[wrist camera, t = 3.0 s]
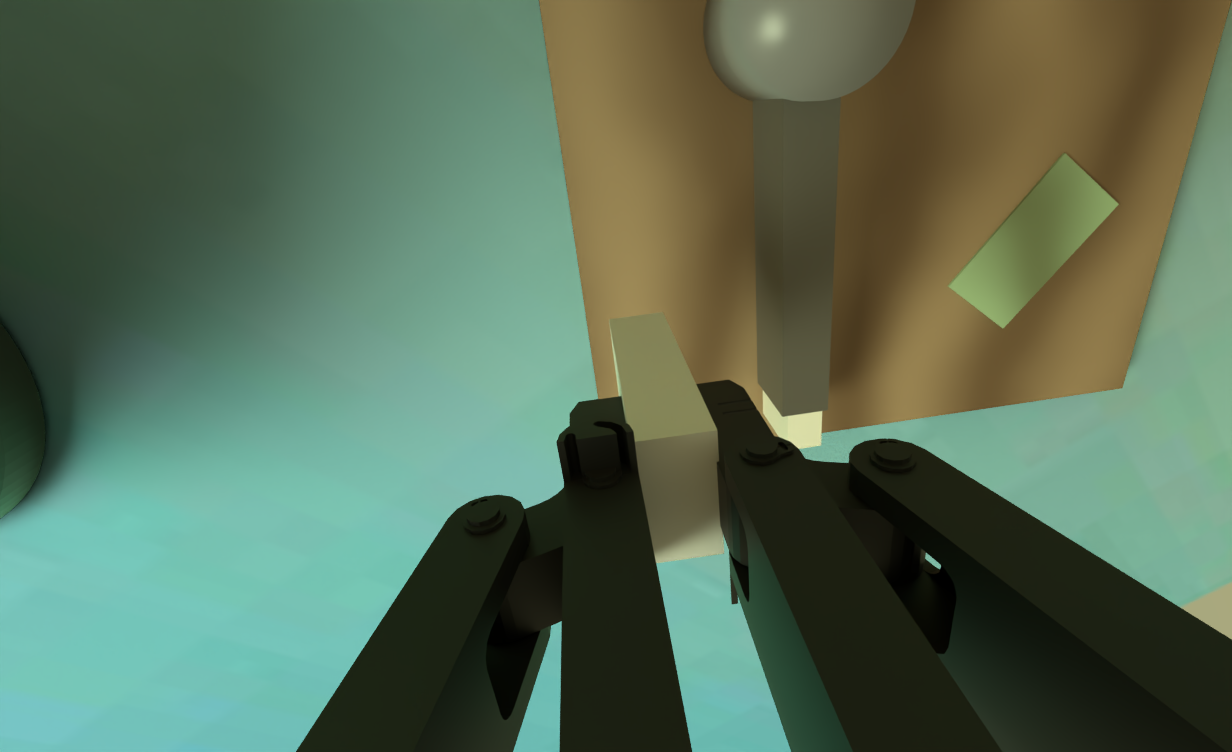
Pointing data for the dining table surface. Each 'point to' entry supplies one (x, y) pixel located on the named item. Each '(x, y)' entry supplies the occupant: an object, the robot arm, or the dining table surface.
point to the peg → (798, 172)
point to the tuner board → (895, 194)
